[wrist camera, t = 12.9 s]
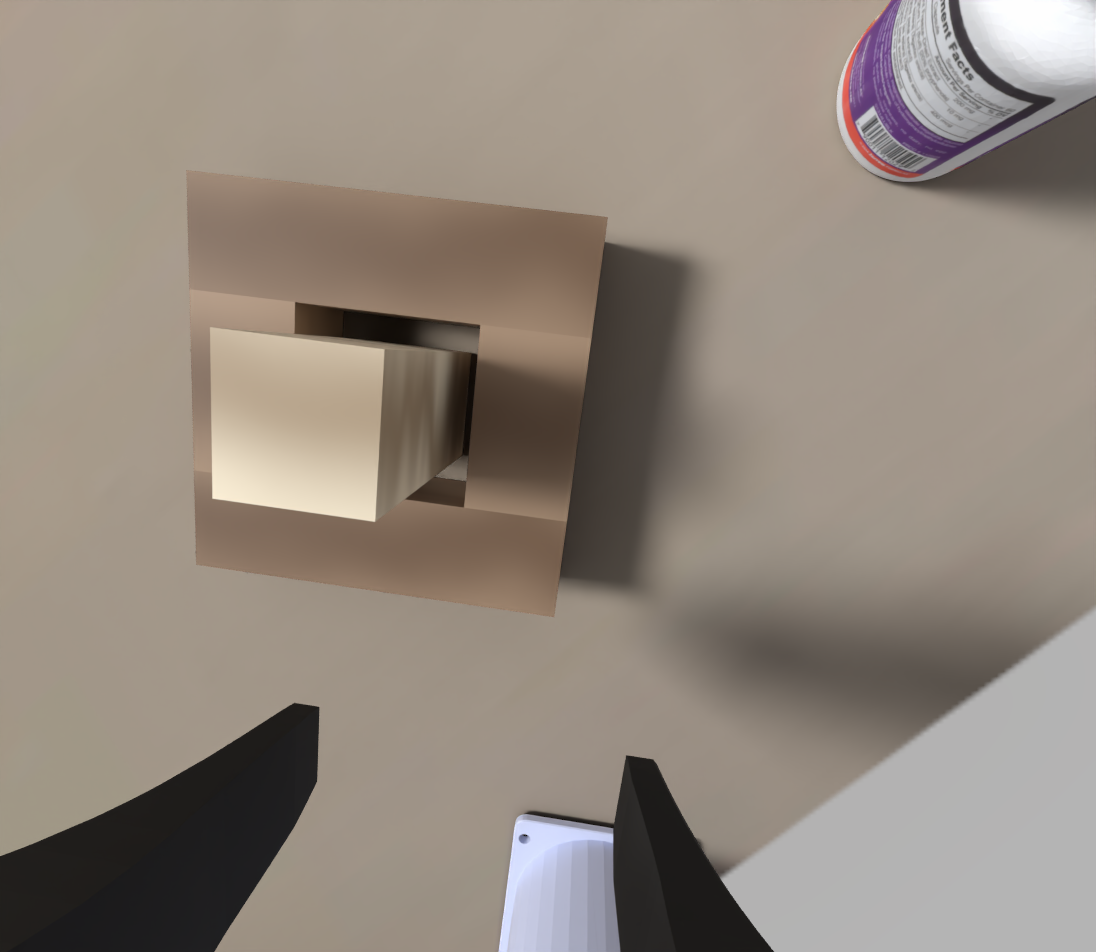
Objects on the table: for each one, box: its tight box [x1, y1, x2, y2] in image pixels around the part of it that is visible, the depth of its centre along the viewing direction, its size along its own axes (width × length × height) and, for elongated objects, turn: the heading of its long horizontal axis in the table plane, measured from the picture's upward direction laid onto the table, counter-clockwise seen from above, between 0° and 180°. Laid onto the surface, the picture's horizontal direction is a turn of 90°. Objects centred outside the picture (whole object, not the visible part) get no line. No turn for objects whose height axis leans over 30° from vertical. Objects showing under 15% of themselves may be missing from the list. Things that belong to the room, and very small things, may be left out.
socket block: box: [186, 170, 608, 617], centre depth 20 cm, size 13×13×4 cm
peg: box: [210, 327, 471, 522], centre depth 17 cm, size 4×4×9 cm
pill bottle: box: [837, 0, 1096, 182], centre depth 13 cm, size 5×5×10 cm
